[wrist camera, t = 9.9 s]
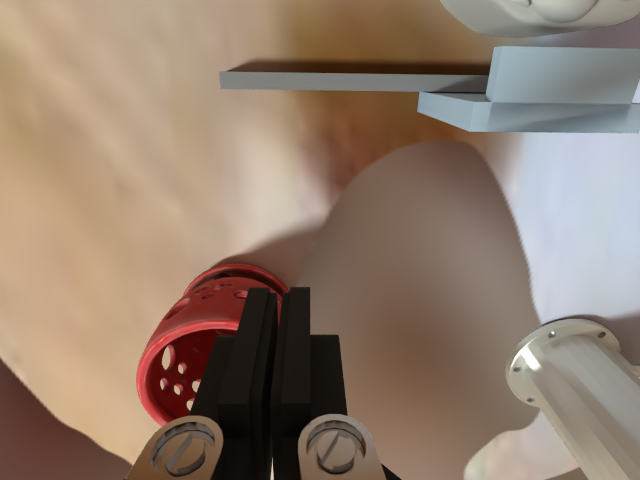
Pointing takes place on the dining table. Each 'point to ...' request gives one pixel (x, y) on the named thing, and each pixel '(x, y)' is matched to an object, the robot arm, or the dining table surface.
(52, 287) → the dining table surface
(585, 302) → the dining table surface
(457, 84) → the grey long bars
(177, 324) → the plant pot
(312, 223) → the dining table surface
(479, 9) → the lumpy-topped squat cylinder
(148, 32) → the dining table surface
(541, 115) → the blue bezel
